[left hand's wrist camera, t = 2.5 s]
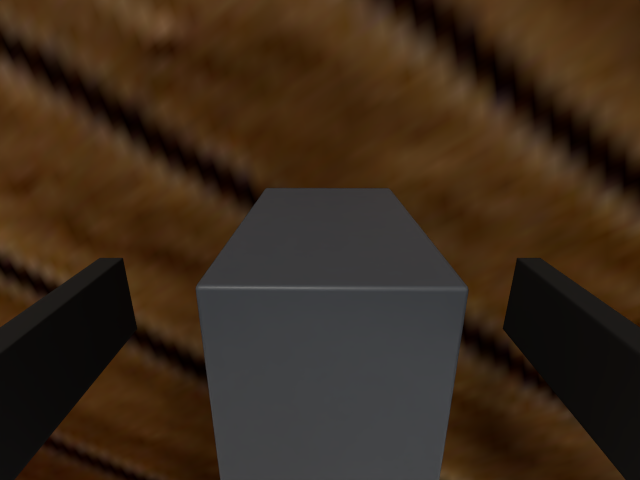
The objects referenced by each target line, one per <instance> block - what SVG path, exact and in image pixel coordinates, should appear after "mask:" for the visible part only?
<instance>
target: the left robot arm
mask: <svg viewBox="0 0 640 480" xmlns="http://www.w3.org/2000/svg"><path fill="white" fill-rule="evenodd" d="M136 330H137V326H136V321H135V316H134V311H133V306H132V301H131V296H130V291H129V286H128V281H127V276H126V271H125V266H124V262H123V258H99V259H98V260H96V261H95V262H93V263H92V264H91V265H89V266H88V267H86V268H85V269H83V270H82V271H81V272H79V273H78V274H76V275H75V276H73V277H72V278H70V279H69V280H68V281H66V282H65V283H63V284H62V285H60V286H59V287H58V288H56V289H55V290H53V291H52V292H50V293H49V294H48V295H46V296H45V297H43V298H42V299H40V300H39V301H38V302H36V303H35V304H33V305H32V306H30V307H29V308H28V309H26V310H25V311H23V312H22V313H20V314H19V315H18V316H16V317H15V318H13V319H12V320H10V321H9V322H7V323H6V324H5V325H3V326H2V327H0V480H14V479H15V478H16V477H17V476H18V474H19V473H20V472H21V471H22V470H23V468H24V467H25V466H26V465H27V463H28V462H29V461H30V460H31V458H32V457H33V456H34V455H35V454H36V452H37V451H38V450H39V449H40V447H41V446H42V445H43V444H44V443H45V441H46V440H47V439H48V438H49V436H50V435H51V434H52V433H53V431H54V430H55V429H56V428H57V427H58V425H59V424H60V423H61V422H62V420H63V419H64V418H65V417H66V416H67V414H68V413H69V412H70V411H71V409H72V408H73V407H74V406H75V404H76V403H77V402H78V401H79V400H80V398H81V397H82V396H83V395H84V393H85V392H86V391H87V390H88V389H89V387H90V386H91V385H92V384H93V382H94V381H95V380H96V379H97V377H98V376H99V375H100V374H101V373H102V371H103V370H104V369H105V368H106V366H107V365H108V364H109V363H110V361H111V360H112V359H113V358H114V357H115V355H116V354H117V353H118V352H119V350H120V349H121V348H122V347H123V346H124V344H125V343H126V342H127V341H128V339H129V338H130V337H131V336H132V334H133V333H134V332H135V331H136ZM503 330H504V331H505V332H506V333H507V334H508V336H509V337H510V338H511V339H512V341H513V342H514V343H515V344H516V346H517V347H518V348H519V349H520V350H521V352H522V353H523V354H524V355H525V357H526V358H527V359H528V360H529V361H530V363H531V364H532V365H533V366H534V368H535V369H536V370H537V371H538V373H539V374H540V375H541V376H542V377H543V379H544V380H545V381H546V382H547V384H548V385H549V386H550V387H551V389H552V390H553V391H554V392H555V393H556V395H557V396H558V397H559V398H560V400H561V401H562V402H563V403H564V404H565V406H566V407H567V408H568V409H569V411H570V412H571V413H572V414H573V416H574V417H575V418H576V419H577V420H578V422H579V423H580V424H581V425H582V427H583V428H584V429H585V430H586V431H587V433H588V434H589V435H590V436H591V438H592V439H593V440H594V441H595V443H596V444H597V445H598V446H599V447H600V449H601V450H602V451H603V452H604V454H605V455H606V456H607V457H608V458H609V460H610V461H611V462H612V463H613V465H614V466H615V467H616V468H617V470H618V471H619V472H620V473H621V474H622V476H623V477H624V478H625V479H626V480H640V327H638V326H637V325H635V324H634V323H633V322H631V321H630V320H628V319H627V318H625V317H624V316H622V315H621V314H620V313H618V312H617V311H615V310H614V309H612V308H611V307H610V306H608V305H607V304H605V303H604V302H602V301H601V300H600V299H598V298H597V297H595V296H594V295H592V294H591V293H590V292H588V291H587V290H585V289H584V288H582V287H581V286H580V285H578V284H577V283H575V282H574V281H572V280H571V279H570V278H568V277H567V276H565V275H564V274H562V273H561V272H559V271H558V270H557V269H555V268H554V267H552V266H551V265H549V264H548V263H547V262H545V261H544V260H542V259H541V258H517V262H516V266H515V271H514V276H513V281H512V286H511V291H510V296H509V301H508V306H507V311H506V316H505V321H504V326H503Z"/></svg>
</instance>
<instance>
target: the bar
mask: <svg viewBox="0 0 640 480" xmlns="http://www.w3.org/2000/svg"><path fill="white" fill-rule="evenodd" d="M196 295H197V302H198V310H199V318H200V326H201V333H202V341H203V349H204V357H205V364H206V372H207V380H208V387H209V395H210V403H211V411H212V418H213V426H214V434H215V442H216V449H217V457H218V465H219V472H220V480H439V477H440V471H441V464H442V458H443V451H444V445H445V439H446V432H447V426H448V419H449V413H450V406H451V400H452V393H453V387H454V380H455V374H456V368H457V361H458V355H459V348H460V342H461V335H462V329H463V322H464V316H465V309H466V303H467V296H468V287H467V286H466V284H465V283H464V282H463V281H462V279H461V278H460V277H459V275H458V274H457V273H456V272H455V270H454V269H453V268H452V267H451V265H450V264H449V263H448V262H447V260H446V259H445V258H444V257H443V255H442V254H441V253H440V252H439V250H438V249H437V248H436V247H435V245H434V244H433V243H432V242H431V240H430V239H429V238H428V236H427V235H426V234H425V233H424V231H423V230H422V229H421V228H420V226H419V225H418V224H417V223H416V221H415V220H414V219H413V218H412V216H411V215H410V214H409V213H408V211H407V210H406V209H405V208H404V206H403V205H402V204H401V203H400V201H399V200H398V199H397V197H396V196H395V195H394V194H393V192H392V191H391V190H390V189H388V188H266V189H265V190H264V192H263V193H262V195H261V196H260V197H259V199H258V200H257V202H256V203H255V204H254V206H253V207H252V209H251V210H250V211H249V213H248V214H247V216H246V217H245V218H244V220H243V221H242V223H241V224H240V225H239V227H238V228H237V230H236V231H235V232H234V234H233V235H232V237H231V238H230V239H229V241H228V242H227V244H226V245H225V246H224V248H223V249H222V251H221V252H220V253H219V255H218V256H217V258H216V259H215V260H214V262H213V263H212V265H211V266H210V267H209V269H208V270H207V272H206V273H205V274H204V276H203V277H202V279H201V280H200V281H199V283H198V284H197V286H196Z"/></svg>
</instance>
